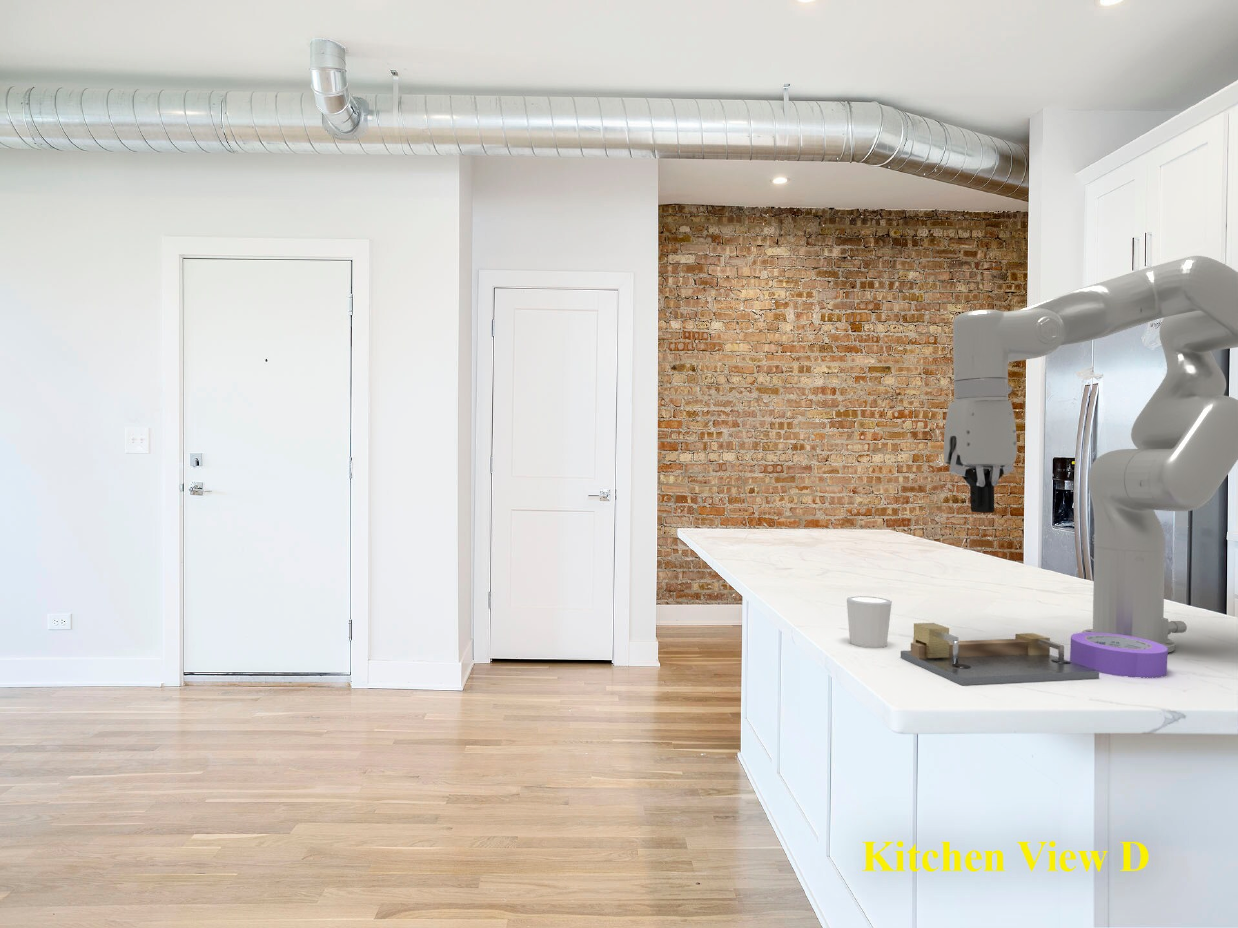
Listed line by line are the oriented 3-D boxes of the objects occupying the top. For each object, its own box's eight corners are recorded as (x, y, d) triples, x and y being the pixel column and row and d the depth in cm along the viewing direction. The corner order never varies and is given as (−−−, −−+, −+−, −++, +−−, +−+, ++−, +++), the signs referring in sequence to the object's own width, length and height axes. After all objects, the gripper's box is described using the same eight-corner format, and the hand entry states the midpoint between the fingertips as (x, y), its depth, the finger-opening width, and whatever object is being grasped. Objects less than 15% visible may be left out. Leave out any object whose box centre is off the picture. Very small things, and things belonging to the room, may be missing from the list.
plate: (1023, 652, 117) (1023, 645, 117) (1098, 678, 103) (1099, 670, 103) (900, 657, 112) (900, 650, 112) (962, 685, 99) (962, 677, 99)
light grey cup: (894, 649, 117) (895, 604, 117) (847, 646, 118) (848, 602, 118) (887, 639, 124) (888, 596, 124) (843, 637, 125) (844, 594, 125)
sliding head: (932, 650, 112) (933, 622, 112) (967, 664, 104) (967, 634, 104) (913, 651, 111) (913, 623, 111) (946, 665, 103) (947, 635, 103)
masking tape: (1188, 678, 105) (1189, 650, 105) (1113, 680, 103) (1114, 652, 103) (1120, 656, 116) (1120, 631, 116) (1051, 658, 114) (1052, 632, 114)
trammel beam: (1033, 648, 115) (1033, 633, 115) (1072, 661, 108) (1072, 644, 107) (908, 653, 110) (908, 637, 110) (940, 667, 103) (940, 650, 103)
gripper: (1003, 394, 122) (1005, 508, 122) (922, 394, 118) (924, 512, 118) (1040, 390, 114) (1042, 511, 115) (955, 390, 111) (957, 516, 111)
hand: (982, 511), depth 117 cm, fingers closed
